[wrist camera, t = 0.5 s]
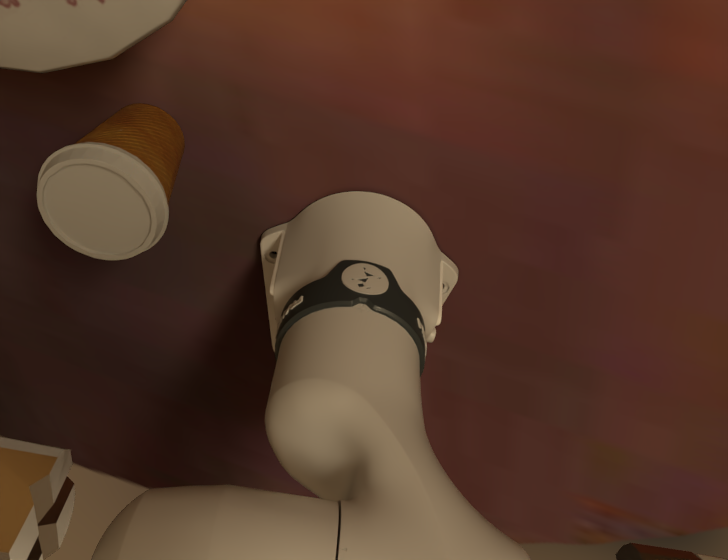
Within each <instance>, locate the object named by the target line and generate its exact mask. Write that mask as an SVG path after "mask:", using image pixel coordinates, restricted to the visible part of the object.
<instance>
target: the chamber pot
mask: <svg viewBox="0 0 728 560" xmlns="http://www.w3.org/2000/svg"><path fill="white" fill-rule="evenodd" d="M186 1H187V0H0V68H3V69H11V70H19V71H28V72H36V73H47V72H52V71H57V70H62V69H66V68H71V67H76V66H81V65H86V64H91V63H96V62H101V61H106V60H111V59H113V58H115V57H117V56H118V55H120V54H121V53H123V52H124V51H126V50H127V49H129V48H131V47H132V46H134V45H135V44H137V43H138V42H140V41H141V40H143V39H144V38H146V37H148V36H149V35H151V34H152V33H154V32H155V31H157V30H158V29H160V28H162V27H163V26H165V25H166V24H168V23H169V22H171V21H172V20H173V19H174V18H175V16H176V15H177V13H178V12H179V11H180V9H181V8H182V6H183V5H184V4H185V2H186Z"/></svg>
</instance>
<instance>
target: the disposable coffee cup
mask: <svg viewBox="0 0 728 560" xmlns="http://www.w3.org/2000/svg"><path fill="white" fill-rule="evenodd" d="M184 147H185V145H184V137H183V133H182V131H181V129H180V127H179V125H178V124H177V122H176V121H175V120H174V119H173V118H172V117H171V116H170V115H169V114H167V113H166V112H165V111H163V110H162V109H160V108H158V107H155V106H152V105H149V104H141V103H139V104H131V105H128V106H126V107H124V108H122V109H121V110H119V111H118V112H117V113H116V114H114V115H113V116H111V117H110V118H109V119H107V120H106V121H105V122H103V123H102V124H100V125H99V126H98V127H97V128H95V129H94V130H93V131H91V132H90V133H88V134H87V135H86V136H84V137H83V138H82V139H80V140H79V141H78V142H76V143H75V144H73V145H68V146H65V147H63V148H61V149H60V150H58V151H56V152H54V153H53V154H52V155H51V156H49V157H48V159H47V160H46V161H45V162H44V164H43V165H42V167H41V170H40V172H39V175H38V184H37V189H38V190H37V202H38V208H39V211H40V213H41V215H42V218H43V220H44V222H45V223H46V225H47V226H48V227H49V229H50V230H51V231H52V232H53V234H54V235H55V236H56V237H57V238H59V239H60V240H61V241H62V242H63V243H64V244H66V245H67V246H69V247H70V248H72V249H74V250H75V251H78V252H80V253H83V254H85V255H88V256H90V257H93V258H97V259H103V260H122V259H127V258H131V257H134V256H135V255H137V254H139V253H141V252H143V251H145V250H148V249H150V248H151V247H152V246H153V245H155V244H156V243H157V242H158V241H159V239H160V238H161V237H162V236H163V234H164V232H165V230H166V227H167V224H168V217H169V208H168V202H169V199H170V197H171V193H172V189H173V185H174V182H175V179H176V176H177V172H178V169H179V165H180V162H181V158H182V155H183V153H184Z"/></svg>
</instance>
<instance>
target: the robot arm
mask: <svg viewBox="0 0 728 560" xmlns="http://www.w3.org/2000/svg"><path fill="white" fill-rule="evenodd" d="M260 248H261V257H262V265H263V273H264V282H265V290H266V299H267V307H268V315H269V324H270V332H271V340H272V347H273V350H274V352H275V358H276V367H275V371H274V376H273V380H272V384H271V389H270V393H269V398H268V402H267V406H266V411H265V428H266V433H267V437H268V440H269V443H270V445H271V447H272V449H273V451H274V453H275V455H276V457H277V458H278V460H279V462H280V463H281V465H282V466H283V468H284V469H285V470H286V471H287V472H288V473H289V474H290V475H291V476H292V477H293V478H294V479H295V480H297V481H298V482H299V483H301V484H302V485H303V486H305V487H306V488H307V489H309V490H310V491H312V492H313V493H314V494H316V495H317V496H318V497H320V498H321V499H319V498H312V497H306V496H299V495H293V494H286V493H280V492H273V491H267V490H260V489H254V488H247V487H241V486H235V485H199V486H180V487H165V488H152V489H149V490H147V491H146V492H144V493H143V494H141V495H140V496H138V497H137V498H136V499H134V500H133V501H132V502H131V503H130V504H128V505H127V506H126V507H125V508H124V509H123V510H122V511H121V512H120V513H119V514H118V516H116V518H115V519H114V520H113V521H112V523H111V524H110V525H109V527H108V528H107V530H106V531H105V533H104V535H103V536H102V538H101V539H100V541H99V543H98V545H97V547H96V549H95V552H94V554H93V556H92V559H91V560H531V558H530V557H529V555H528V554H527V553H526V552H525V550H524V549H523V548H522V547H521V546H520V545H519V544H518V543H517V542H515V541H514V540H512V539H511V538H509V537H508V536H507V535H505V534H504V533H502V532H501V531H499V530H498V529H497V528H496V527H495V526H493V525H492V524H491V523H490V522H488V521H487V520H486V519H485V518H484V517H483V516H482V515H481V514H480V513H479V512H478V511H477V510H476V509H475V508H473V507H472V505H471V504H470V503H469V502H468V501H467V500H466V499H465V498H464V496H463V495H462V494H461V493H460V492H459V490H458V489H457V488H456V487H455V485H454V484H453V483H452V481H451V480H450V478H449V477H448V476H447V474H446V473H445V471H444V470H443V468H442V466H441V465H440V463H439V461H438V460H437V458H436V456H435V454H434V452H433V450H432V448H431V446H430V444H429V441H428V438H427V435H426V432H425V427H424V420H423V412H422V403H421V390H420V377H421V375H422V373H423V369H424V363H425V356H426V351H427V342H433V340H434V338H435V335H436V329H435V326H437V325H439V324H440V322H441V317H442V305H443V303H444V302H445V300H446V298H447V297H448V295H449V294H450V292H451V291H452V289H453V287H454V286H455V284H456V282H457V280H458V269H457V267H456V265H455V264H454V263H453V262H452V261H451V260H450V259H449V258H448V257H447V256H445V255H444V254H443V253H442V252H441V251H440V250H439V248H438V246H437V244H436V242H435V240H434V237H433V235H432V233H431V231H430V229H429V227H428V226H427V224H426V223H425V222H424V221H423V219H422V218H421V217H420V216H419V215H418V214H417V213H416V212H414V211H413V210H412V209H411V208H409V207H408V206H406V205H405V204H403V203H401V202H399V201H397V200H395V199H393V198H390V197H388V196H384V195H381V194H377V193H371V192H361V191H353V192H343V193H337V194H333V195H330V196H327V197H324V198H322V199H320V200H318V201H316V202H314V203H312V204H311V205H309V206H308V207H306V208H305V209H304V210H303V211H302V212H301V213H299V214H298V215H297V216H296V217H295V218H294V219H292V220H291V221H290V222H288V223H285V224H281V225H278V226H275V227H273V228H270V229H268V230H266V231H265V232H264V233H263V234H262V236H261V242H260ZM272 251H275V252H277V254H273V253H271V252H272ZM71 466H72V458H71V451H70V449H65V448H59V447H54V446H48V445H43V444H37V443H32V442H26V441H21V440H15V439H10V438H4V437H0V560H44V559H46V558H47V557H49V556H50V555H51V554H53V553H54V552H56V551H57V550H58V549H59V548H60V546H61V544H62V541H63V539H64V536H65V534H66V532H67V529H68V526H69V522H70V519H71V516H72V512H73V508H74V500H75V485H74V483H73V482H72V481H71V480H70V479H69V478H68V477H67V474H68V473H69V470H70V468H71ZM615 555H616V559H617V560H728V559H724V558H721V557H714V556H707V555H701V554H694V553H692V552H688V551H682V550H675V549H668V548H662V547H655V546H648V545H642V544H635V543H629V544H626V545H623V546H622V547H621V548H620V549H619V551H618V552H617V553H616V554H615Z"/></svg>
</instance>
